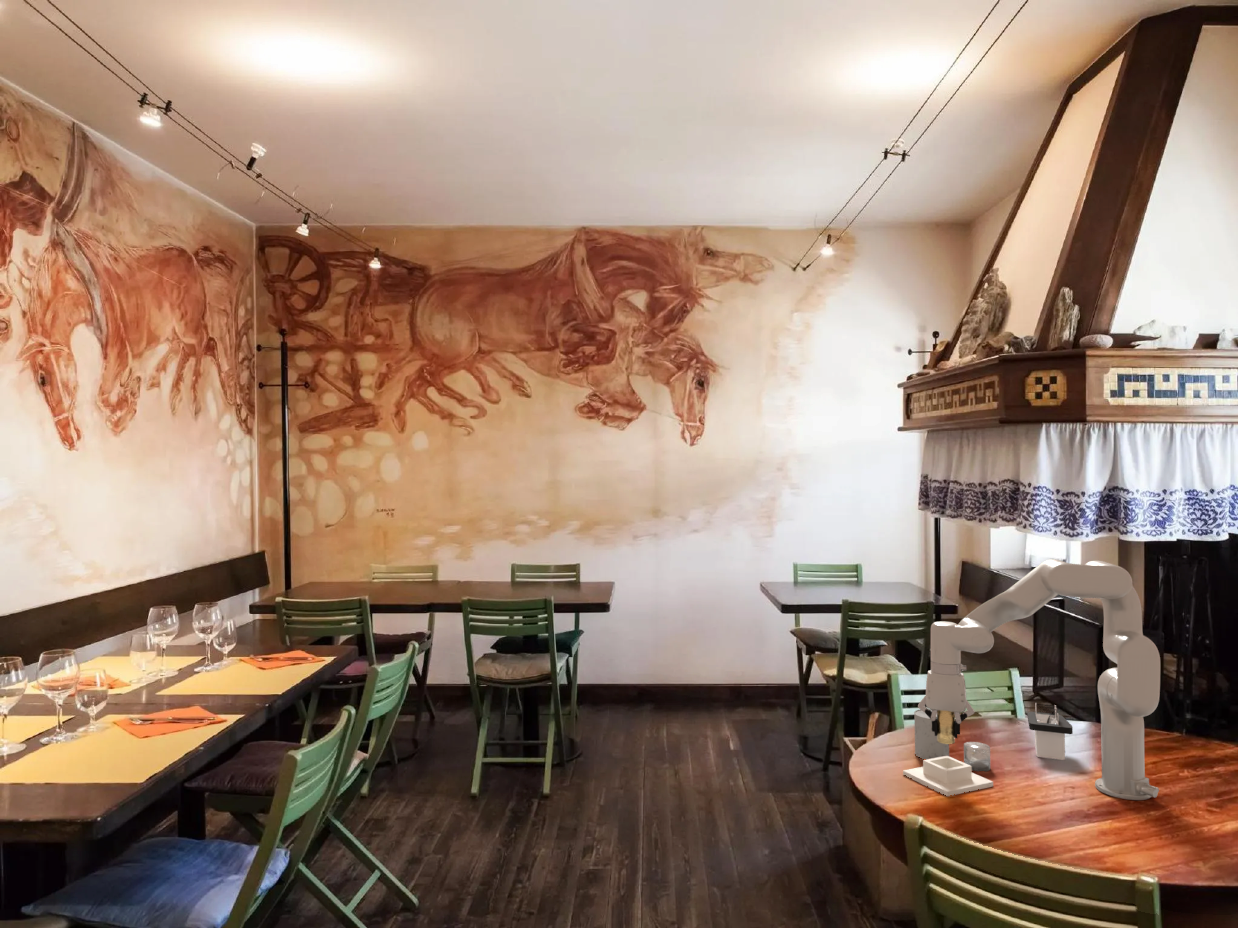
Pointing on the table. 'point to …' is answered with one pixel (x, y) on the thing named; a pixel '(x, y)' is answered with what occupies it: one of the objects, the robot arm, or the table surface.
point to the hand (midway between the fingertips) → (945, 734)
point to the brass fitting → (945, 727)
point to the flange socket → (947, 776)
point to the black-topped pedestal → (1049, 732)
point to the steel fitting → (977, 756)
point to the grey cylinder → (927, 738)
